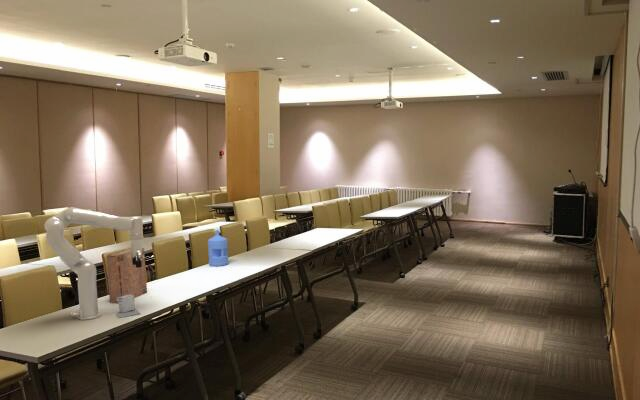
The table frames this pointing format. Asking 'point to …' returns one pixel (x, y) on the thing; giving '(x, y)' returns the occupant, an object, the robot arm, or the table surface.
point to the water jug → (217, 250)
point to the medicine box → (126, 303)
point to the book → (125, 275)
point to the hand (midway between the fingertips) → (137, 265)
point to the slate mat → (128, 314)
